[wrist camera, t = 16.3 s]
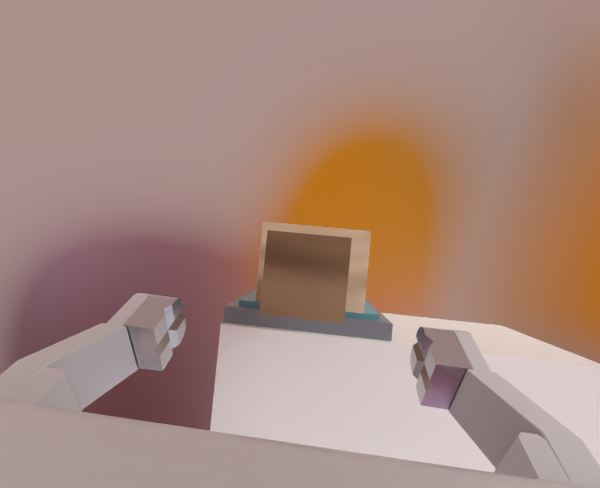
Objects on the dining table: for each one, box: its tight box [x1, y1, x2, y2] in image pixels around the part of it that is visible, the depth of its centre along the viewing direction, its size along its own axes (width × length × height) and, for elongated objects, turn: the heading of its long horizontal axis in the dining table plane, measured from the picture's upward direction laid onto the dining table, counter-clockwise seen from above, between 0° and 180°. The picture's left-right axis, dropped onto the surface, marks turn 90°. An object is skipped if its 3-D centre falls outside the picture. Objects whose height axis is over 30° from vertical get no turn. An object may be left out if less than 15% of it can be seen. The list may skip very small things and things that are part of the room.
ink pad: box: [223, 289, 393, 341], centre depth 27 cm, size 12×11×2 cm
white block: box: [210, 313, 600, 473], centre depth 26 cm, size 26×12×24 cm, turn 86°
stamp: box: [255, 222, 371, 324], centre depth 21 cm, size 18×8×6 cm, turn 176°
